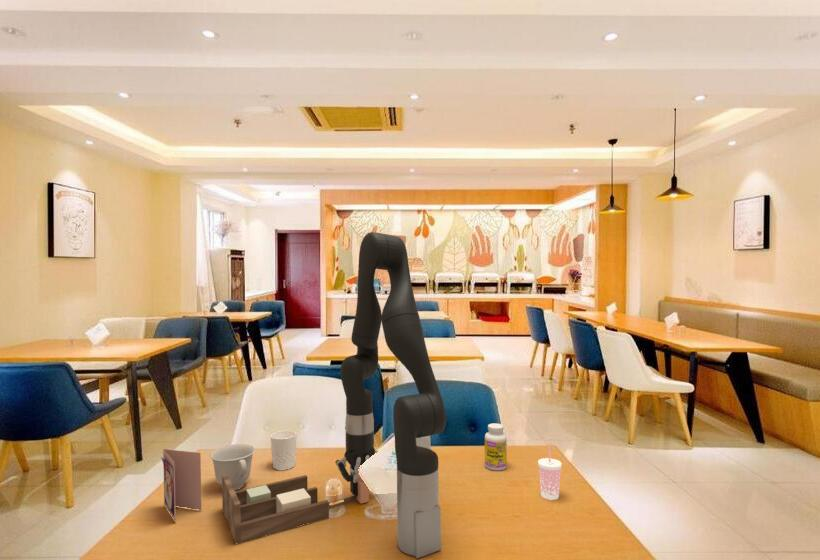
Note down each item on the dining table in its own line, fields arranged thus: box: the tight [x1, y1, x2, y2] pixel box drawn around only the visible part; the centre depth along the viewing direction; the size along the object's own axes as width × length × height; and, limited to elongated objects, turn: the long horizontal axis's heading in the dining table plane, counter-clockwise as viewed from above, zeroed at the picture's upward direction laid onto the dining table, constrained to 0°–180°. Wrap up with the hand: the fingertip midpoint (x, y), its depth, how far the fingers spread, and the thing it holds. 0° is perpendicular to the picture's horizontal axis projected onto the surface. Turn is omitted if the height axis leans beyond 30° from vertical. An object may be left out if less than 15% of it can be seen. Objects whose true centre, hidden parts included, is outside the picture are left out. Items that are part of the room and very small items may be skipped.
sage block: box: [245, 484, 271, 504], centre depth 120 cm, size 5×5×5 cm
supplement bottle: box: [484, 422, 508, 472], centre depth 145 cm, size 7×7×13 cm
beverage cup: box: [537, 443, 563, 501], centre depth 126 cm, size 6×6×14 cm
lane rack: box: [221, 474, 330, 545], centre depth 118 cm, size 18×22×9 cm
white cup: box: [270, 430, 298, 471], centre depth 147 cm, size 8×8×10 cm
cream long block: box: [276, 474, 370, 513], centre depth 120 cm, size 6×23×5 cm, turn 120°
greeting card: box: [160, 448, 202, 523], centre depth 120 cm, size 11×7×15 cm, turn 40°
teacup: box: [209, 443, 256, 491], centre depth 132 cm, size 12×15×10 cm
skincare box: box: [416, 436, 432, 450], centre depth 151 cm, size 6×4×12 cm
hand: (360, 493), depth 125 cm, fingers closed on cream long block, 2 cm apart
